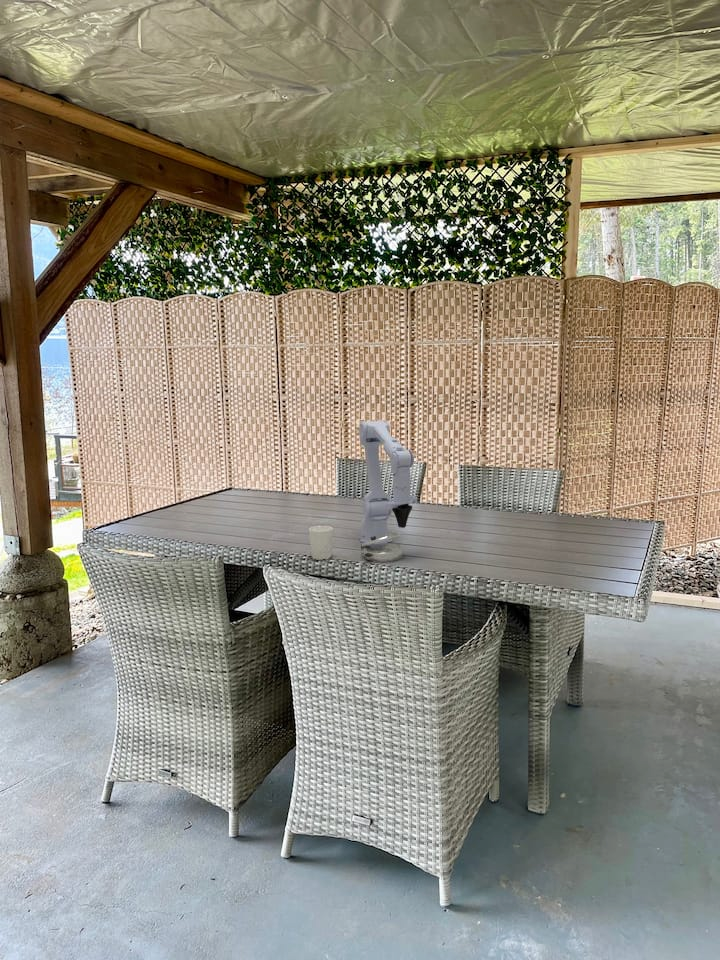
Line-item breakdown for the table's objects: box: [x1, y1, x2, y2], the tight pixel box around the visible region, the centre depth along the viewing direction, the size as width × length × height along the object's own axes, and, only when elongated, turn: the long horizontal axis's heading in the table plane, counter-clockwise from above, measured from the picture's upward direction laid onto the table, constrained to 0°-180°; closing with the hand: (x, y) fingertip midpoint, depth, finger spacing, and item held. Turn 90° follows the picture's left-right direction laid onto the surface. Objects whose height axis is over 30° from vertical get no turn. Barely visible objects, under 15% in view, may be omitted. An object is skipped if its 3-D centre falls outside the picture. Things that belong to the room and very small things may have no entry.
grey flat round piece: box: [360, 542, 403, 563], centre depth 232 cm, size 15×16×3 cm
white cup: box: [308, 525, 334, 561], centre depth 232 cm, size 8×8×10 cm
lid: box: [361, 532, 402, 547], centre depth 231 cm, size 14×14×2 cm
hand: (402, 527), depth 229 cm, fingers closed
